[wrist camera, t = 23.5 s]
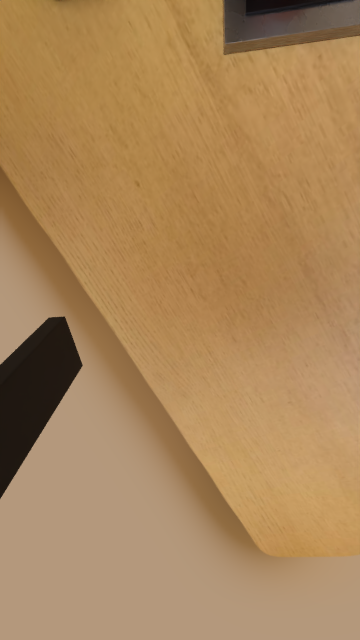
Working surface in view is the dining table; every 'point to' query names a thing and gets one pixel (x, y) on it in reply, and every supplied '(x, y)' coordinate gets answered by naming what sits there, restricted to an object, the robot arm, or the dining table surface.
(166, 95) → the dining table surface
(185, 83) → the dining table surface
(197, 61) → the dining table surface
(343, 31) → the drip tray
